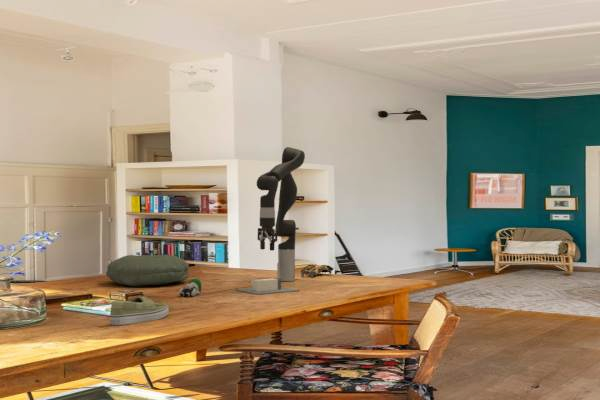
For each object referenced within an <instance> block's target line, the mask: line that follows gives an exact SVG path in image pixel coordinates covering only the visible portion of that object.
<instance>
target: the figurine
mask: <svg viewBox="0 0 600 400" xmlns="http://www.w3.org/2000/svg"><path fill="white" fill-rule="evenodd" d="M332 271H334V268H333V267H332V266H330V265H328V264H313V263H312V264H308V265H306V266H305V267H304V268H302V269H301V270H300V273H301V274H300V276H301V278H303V277H304V276H305V275H310V276H308V278H311V277H312V278H314V277H318V276H320V275H322V274H323V273H329V275H331V274H332Z"/></svg>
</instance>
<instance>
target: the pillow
mask: <svg viewBox="0 0 600 400" xmlns="http://www.w3.org/2000/svg"><path fill="white" fill-rule="evenodd" d="M189 265H190V264H189V263H188V262H187V261H185V260H184V259H183V258H181V257H179V256H177V255H175V254H159V255H157V254H154V255H153V254H152V255H151V254H150V255H147V254H141V255H135V254H127V255H125V256H122V257H119V258H116V259H114V260H113V261H111V262H110V263H109V264H108V265H107V268H106V269H107V270H106V272H105V275H106V277H108V279H109V280H111V281H113V282H114V283H116V284H119V285H121V286H130V287H146V286H162V285H167V284H172V283H182V282H185V281H186V280H187V279H188V278H189V275H190V274H189V268H190V266H189Z"/></svg>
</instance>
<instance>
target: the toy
mask: <svg viewBox="0 0 600 400" xmlns="http://www.w3.org/2000/svg"><path fill="white" fill-rule="evenodd" d="M201 292H202V282H201V280H200V279H198V278H192V279H190V280H189V281H188V283H187V284H186V285H185V286H184V287H181V288H180V289H179V291H178V294H179V296H180V298H184V297H186V298H190V297H195V296H196V295H199V294H200V293H201Z"/></svg>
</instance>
